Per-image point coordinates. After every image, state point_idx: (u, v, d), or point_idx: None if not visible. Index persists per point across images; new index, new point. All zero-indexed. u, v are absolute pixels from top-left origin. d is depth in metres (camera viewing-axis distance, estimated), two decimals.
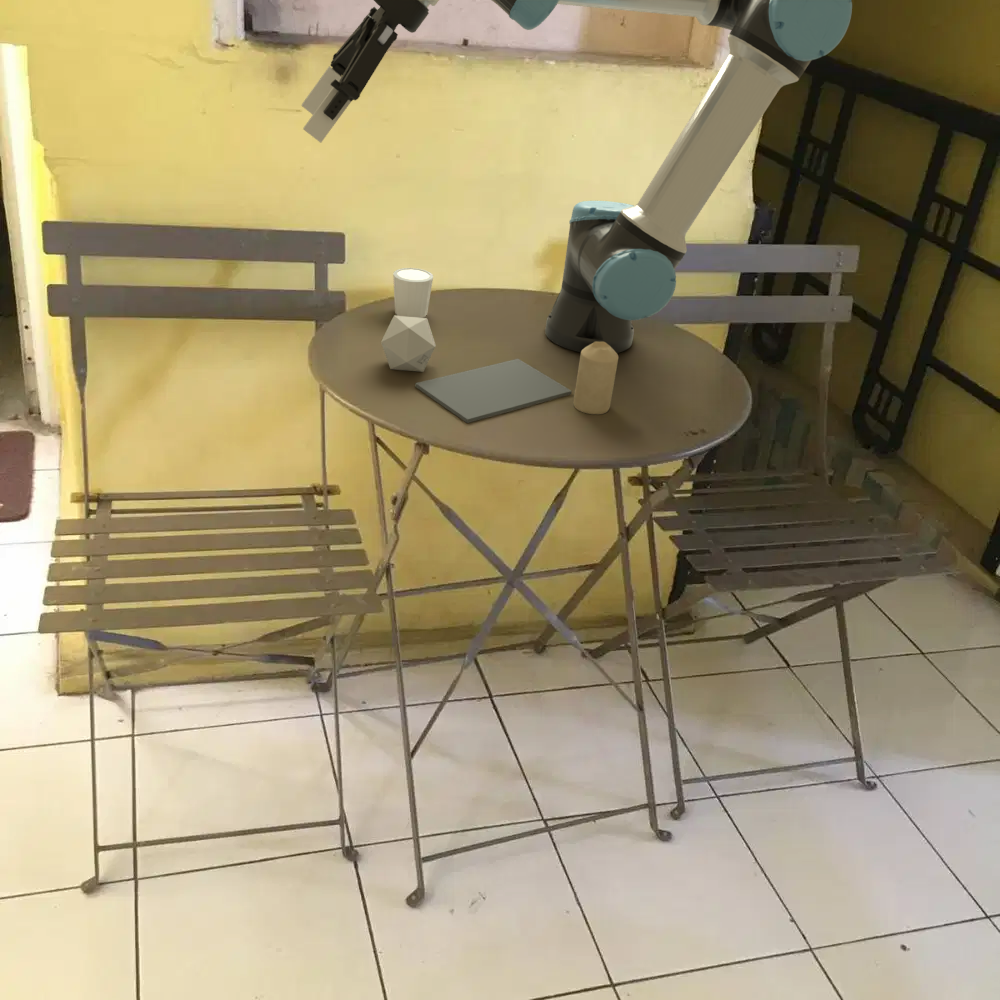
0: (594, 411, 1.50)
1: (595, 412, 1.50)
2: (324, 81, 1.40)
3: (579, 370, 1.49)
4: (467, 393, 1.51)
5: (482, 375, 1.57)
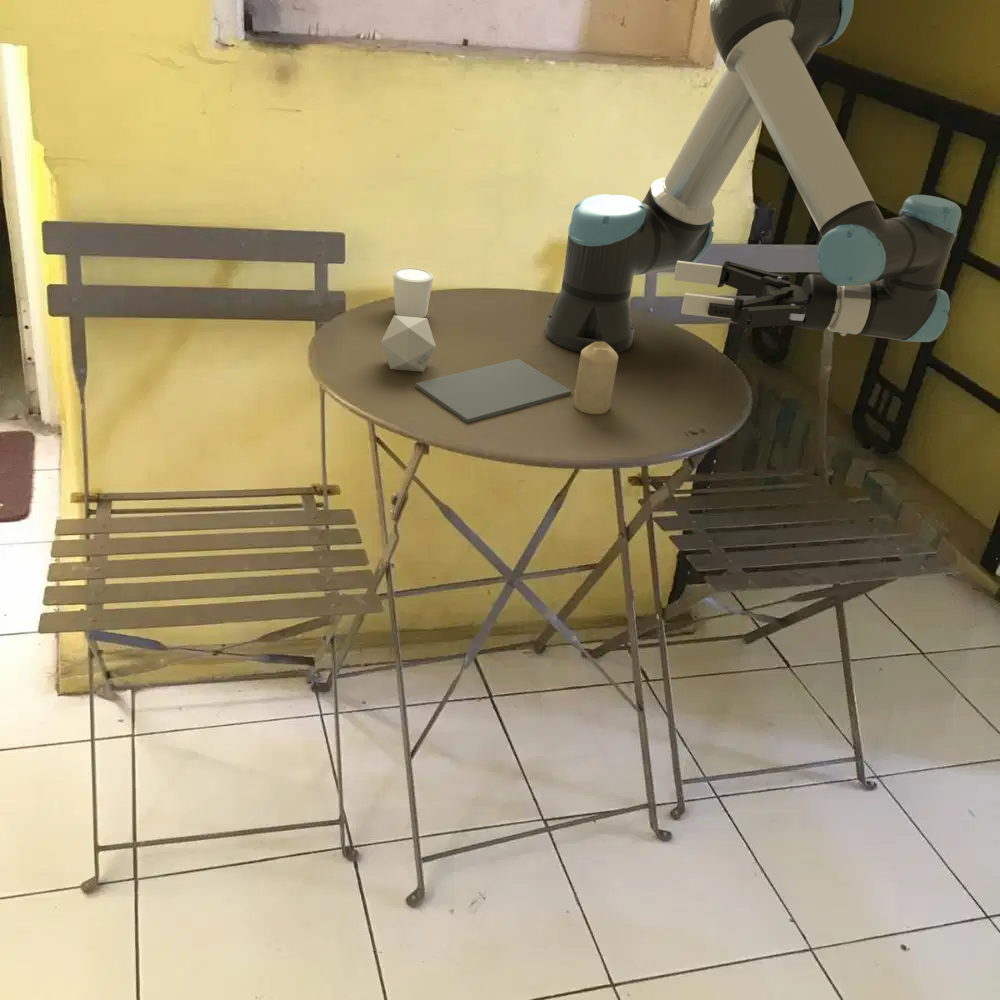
0: (594, 411, 1.50)
1: (595, 412, 1.50)
2: None
3: (579, 370, 1.49)
4: (467, 393, 1.51)
5: (482, 375, 1.57)
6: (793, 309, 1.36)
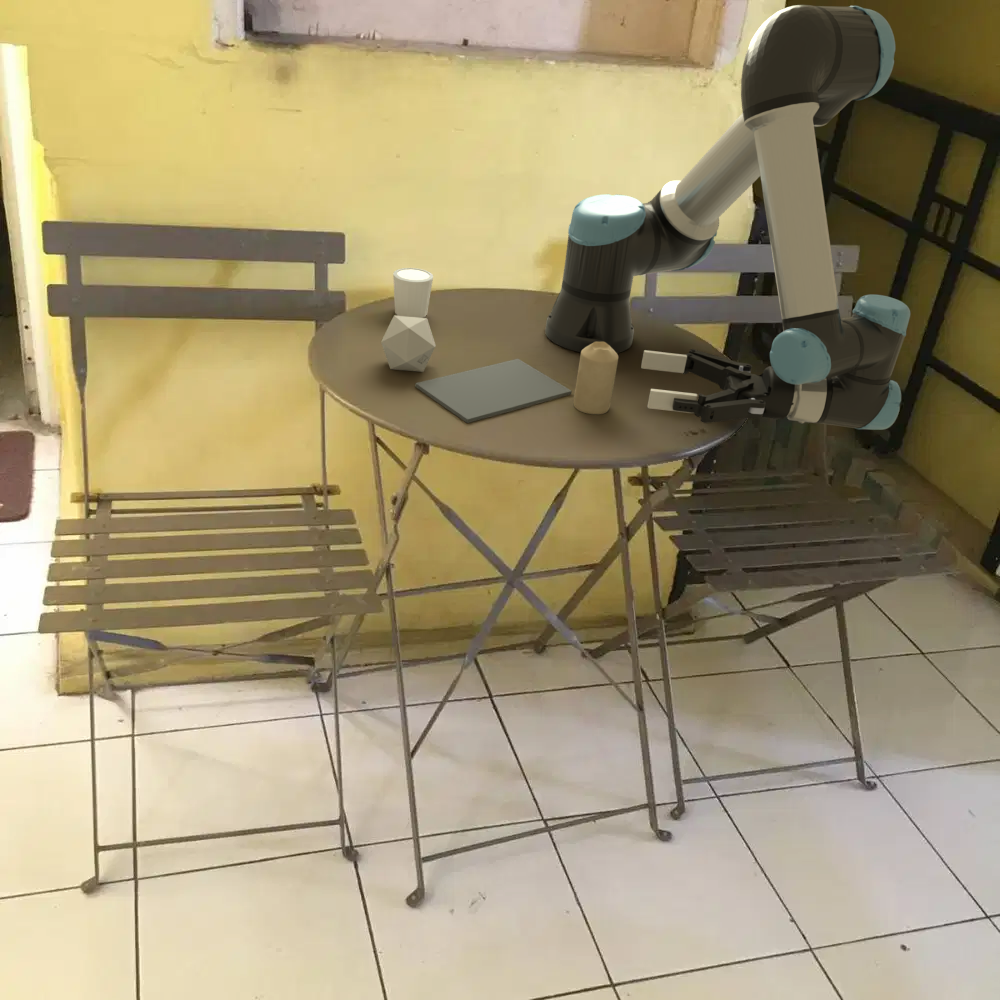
0: (594, 411, 1.50)
1: (595, 412, 1.50)
2: None
3: (579, 370, 1.49)
4: (467, 393, 1.51)
5: (482, 375, 1.57)
6: (753, 404, 1.43)
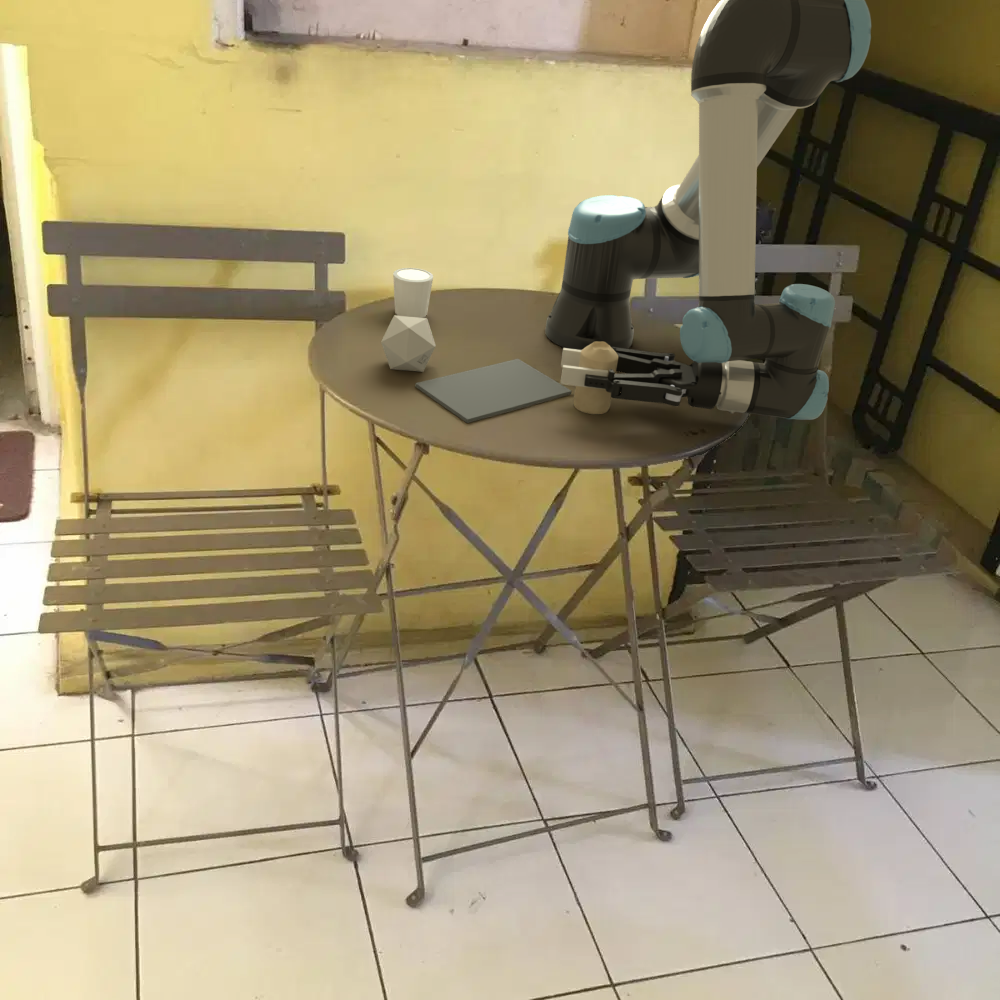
0: (594, 411, 1.50)
1: (595, 412, 1.50)
2: None
3: None
4: (467, 393, 1.51)
5: (482, 375, 1.57)
6: (668, 389, 1.44)
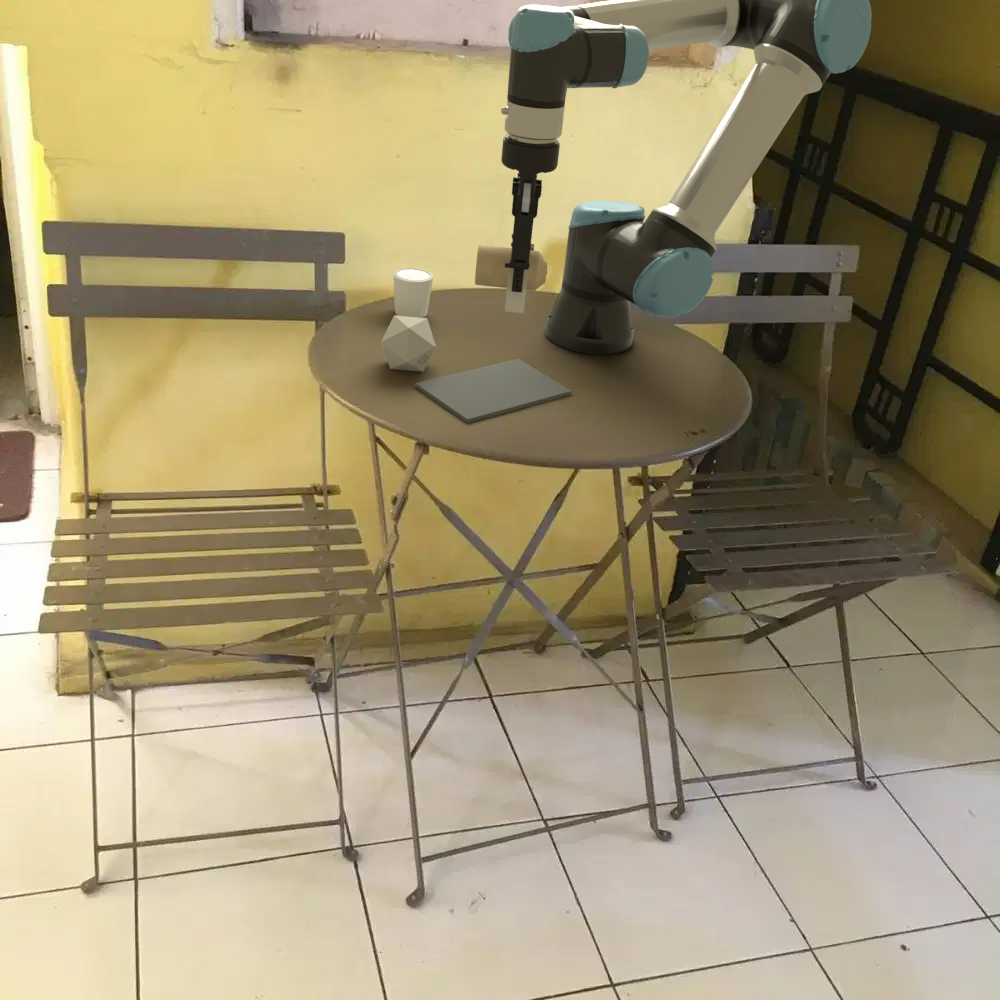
0: None
1: None
2: None
3: None
4: (467, 393, 1.51)
5: (482, 375, 1.57)
6: None
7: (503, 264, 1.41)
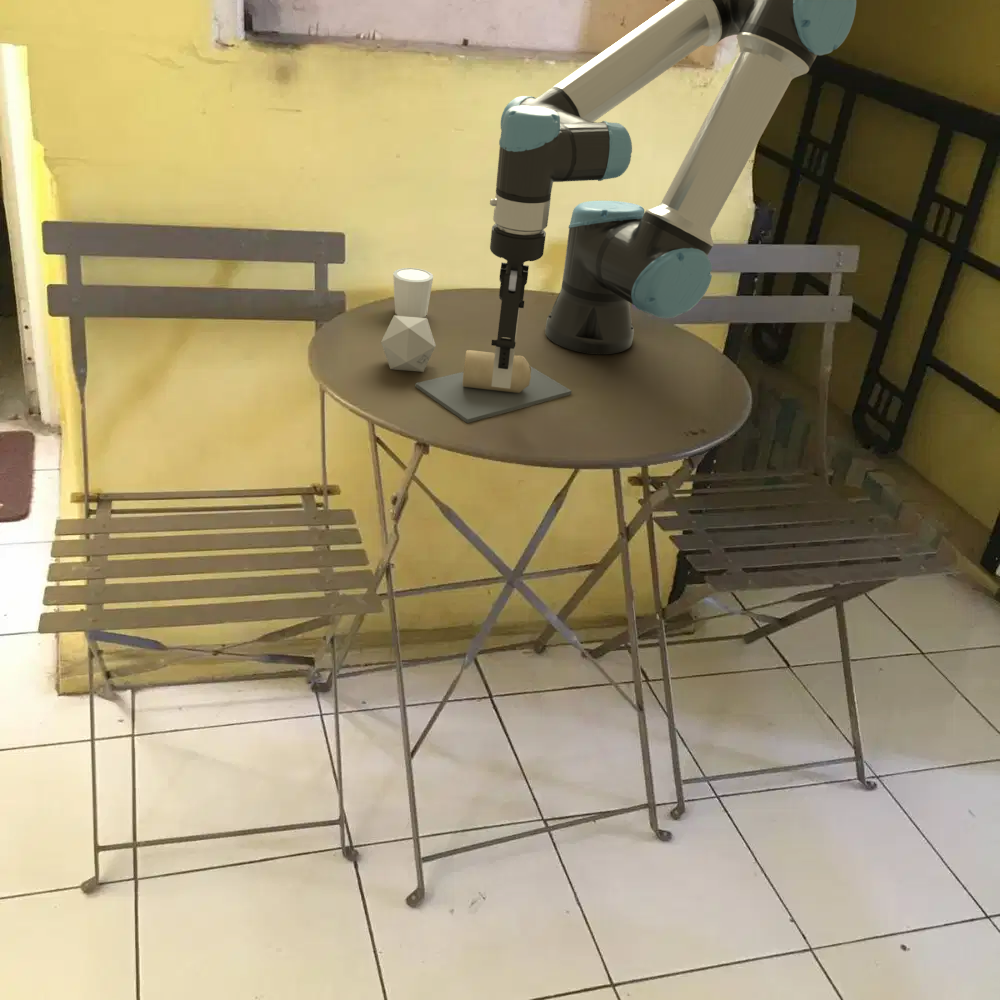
0: None
1: None
2: None
3: None
4: (467, 393, 1.51)
5: None
6: None
7: (489, 370, 1.49)
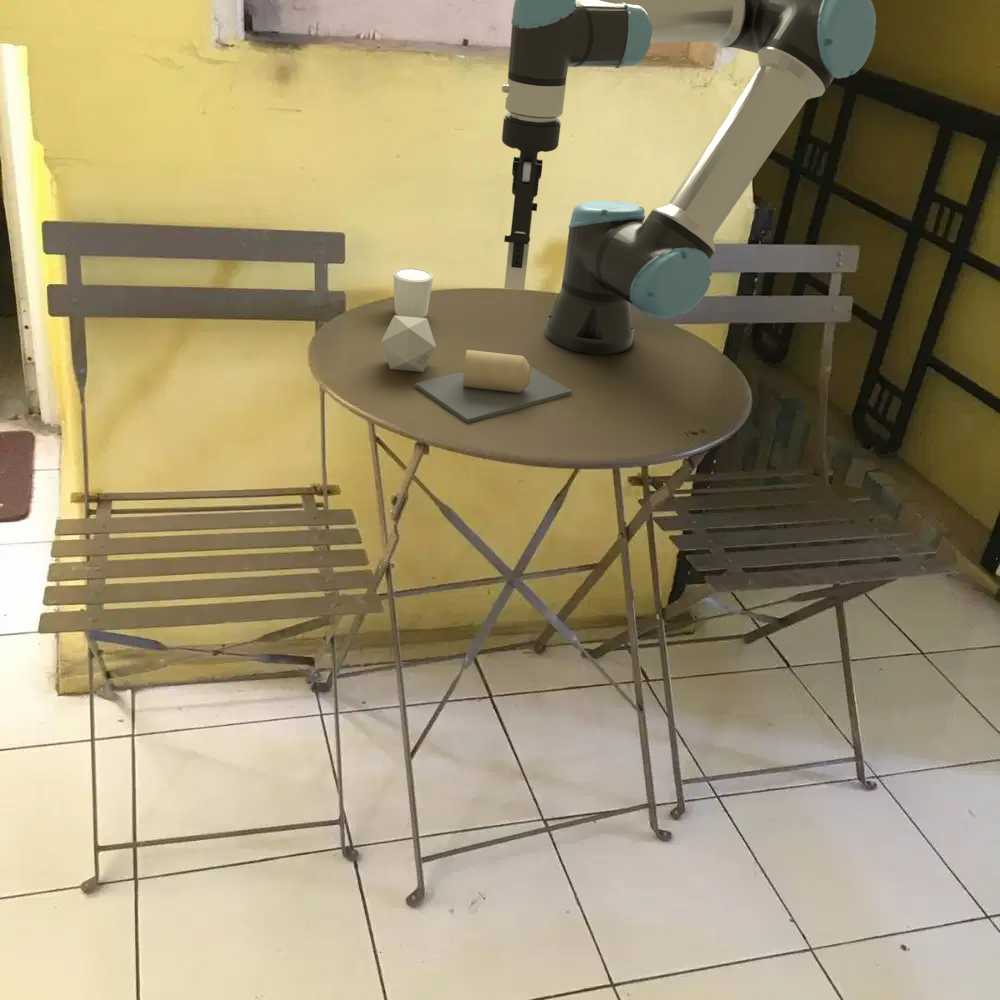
0: None
1: None
2: None
3: None
4: (467, 393, 1.51)
5: None
6: None
7: (489, 369, 1.49)
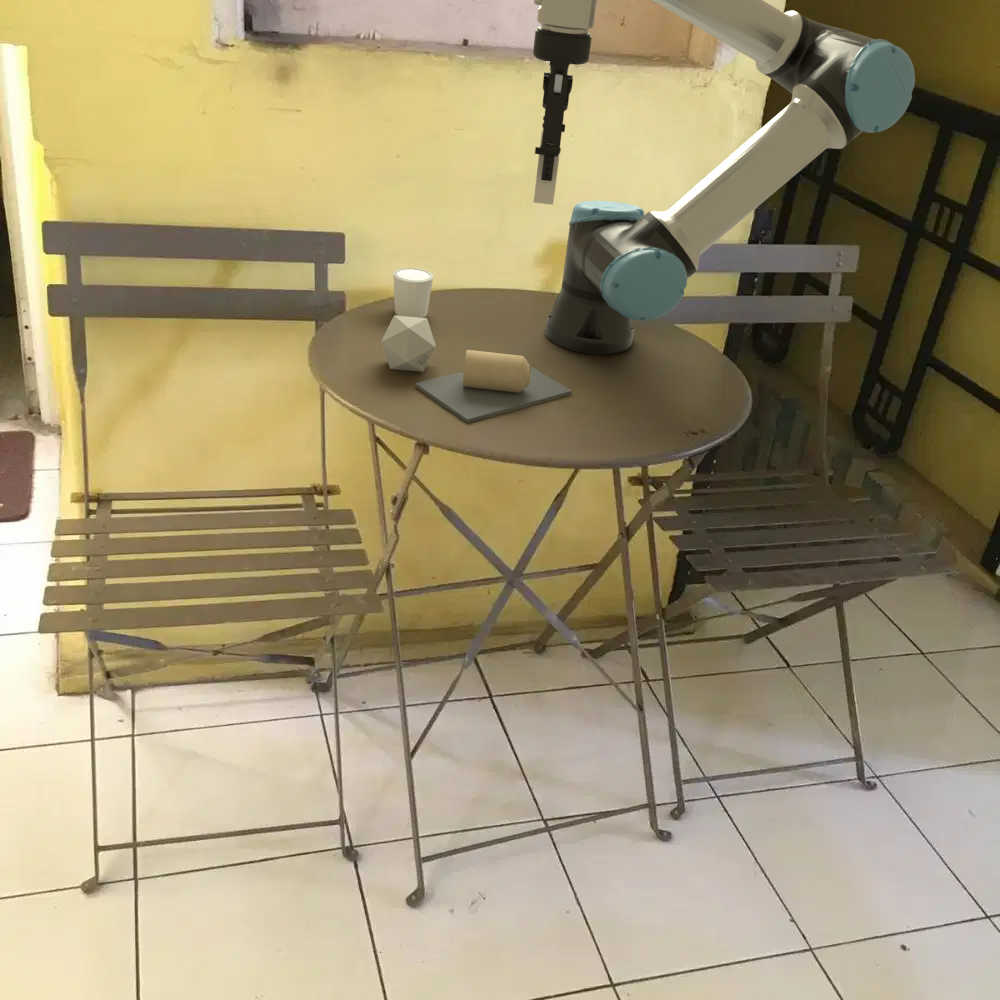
0: None
1: None
2: None
3: None
4: (467, 393, 1.51)
5: None
6: None
7: (489, 369, 1.49)
